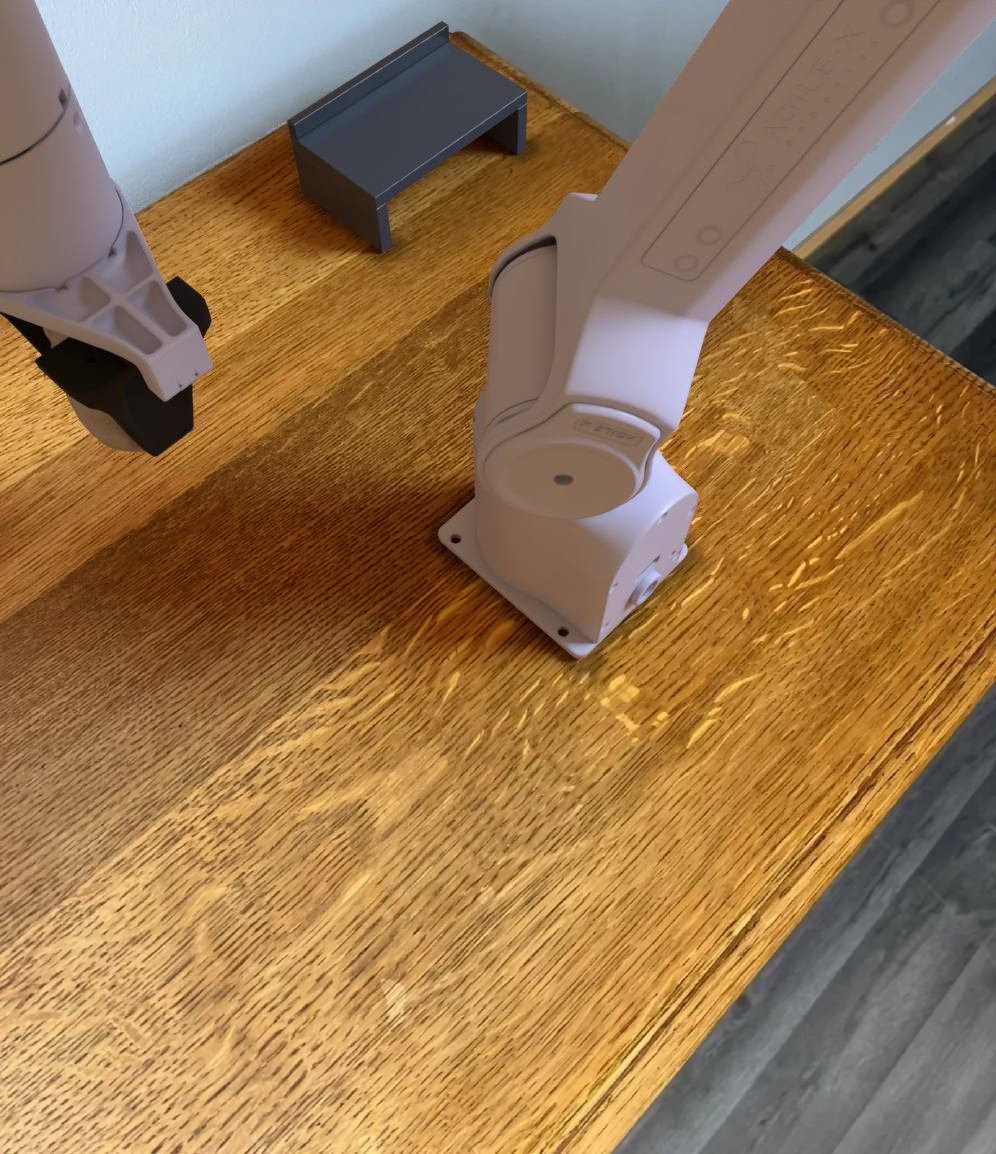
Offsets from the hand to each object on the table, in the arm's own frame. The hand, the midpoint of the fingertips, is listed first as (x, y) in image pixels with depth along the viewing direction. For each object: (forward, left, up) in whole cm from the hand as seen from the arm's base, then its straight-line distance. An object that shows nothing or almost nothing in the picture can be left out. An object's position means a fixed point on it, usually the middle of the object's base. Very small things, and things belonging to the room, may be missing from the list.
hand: (126, 398), depth 41 cm
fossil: (0, 0, -4) cm, 4 cm away
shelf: (+10, -25, -10) cm, 28 cm away
